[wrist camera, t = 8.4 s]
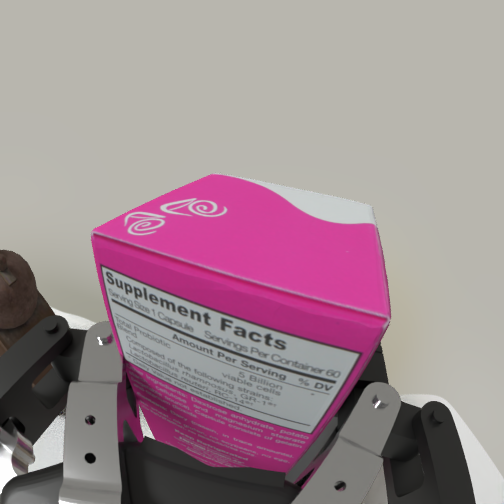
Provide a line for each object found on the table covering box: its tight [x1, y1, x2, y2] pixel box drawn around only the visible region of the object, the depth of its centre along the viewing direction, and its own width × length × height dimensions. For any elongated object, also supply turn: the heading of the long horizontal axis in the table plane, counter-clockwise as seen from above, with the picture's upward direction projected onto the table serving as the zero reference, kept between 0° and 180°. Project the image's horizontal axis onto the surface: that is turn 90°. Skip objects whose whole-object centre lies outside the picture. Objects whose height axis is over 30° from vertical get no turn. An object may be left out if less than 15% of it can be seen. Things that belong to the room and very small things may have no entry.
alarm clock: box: [0, 250, 55, 388], centre depth 17 cm, size 14×7×20 cm, turn 78°
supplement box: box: [91, 173, 391, 475], centre depth 9 cm, size 6×6×12 cm
